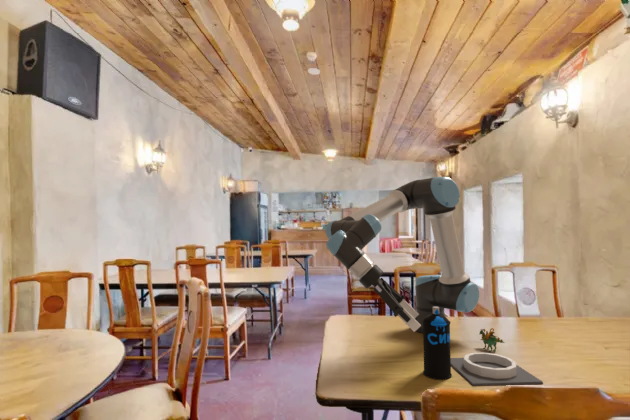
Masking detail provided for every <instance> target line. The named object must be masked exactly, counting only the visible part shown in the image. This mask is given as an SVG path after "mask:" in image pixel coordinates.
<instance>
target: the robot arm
mask: <svg viewBox="0 0 630 420" xmlns="http://www.w3.org/2000/svg"><path fill="white" fill-rule="evenodd" d="M460 194H461V192H460V188H459V186H458V185H457V183H456V181H454V180H453V179H452V178H450V177H448V176H434V177H430V178H424V179H416V180H413V181H409V182H408V183H405V184H404V185H401V186H399V187H398V188H396V189H394V190H392V191H390V192H389V194H388V195H387V196H385V197H383V198H381V199H379V200H377V201H375V202H374V203H371V204H369V205H367V206H365V207H363V208H362V209H359V210H357V211H356V212H354V213H352V214H349V215H347V216H346V217H343V218H341V219H339V220H337V219H336V220H331V221H329V222H328V223H327V224H326V226H325V236H326V237H327V239H328V240H327V241H326V243H325V246H326V248H327V249H328V251H329V252H330V254H332V256H333V257H335V259H337V261H339V262H340V263H341V264H342V265H343V266H344V267H345V268H346V269H347V270H348V271H349V275H350V276H352V275H353V276H354V277H355V279H357V280H359V282H358V283H360V284H361V285H362V286H363V288H365V289H369V288H371V287H372V286H373V287H374V288H373V291H374V292H375V293H376V294H377V295H378V296H379V298H380V299H381V300H383V302H384V303H385V304H386V306H387V307H388V308H389V310H390V311H392V313H393V317H395V318H397V317H399V318H400V319H401V320H402V321H403V323H404V324H405V325H407V327H408V328H409V329H411V330H412V331H413V333H415V332H417V333H421V334H423V322H422V320H423V319H424V318H425V317H426V316H427V315H430V314H432V313H433V307H439V314H440V315H443V316H445V317H446V318H447V315H446V311H445V309H447V310H451V311H456V312H458V313H460V312H461V313H470V312H472V311H473V310H474V309H476V307H477V305H478V303H479V300H480V288H479V287H478V285H477V284H476V283H474V282H471V278H470V275H469V273H467V272H465V267H464V263H463V259H462V258H463V257H462V254H461V249H460V244H459V239H458V235H457V230H456V229H457V227H456V224H455V219H454V212H455V211H456V210H457V208H456V206H457V205H458V204H459V202H460V196H461V195H460ZM414 209H416V210H417V209H423V212H424V215H425V216H426V217H427V218H428V219H429V221H430V226H431V230H432V234H433V235H432V236H433V239H434V244H435V250H436V253H437V254H436V255H437V258H438V262H439V269H440V274H429V275H428V274H427V275H419V276H417V277H416V279H415V309H414V308H413V307H412V306H411V305H410V304H409V303H408V302H407V301H406V299H405V298H406V297H405V296H404V294H401V293H399V291H397V290H396V289H395V288H394V287H392V286H391V285H390V284H389V283H388V282H387V281H386V280H385V279H384V278H383V277H382V276H383V275H384V270H382V269H381V268H380V267H379V265H377V264H374V260H372V258H370V257H369V255H368V254H367V253H365V252H364V251H363V250H364V248H365V247H366V246H367V245H368V244H369V243H370V242H372V241H373V240H374V239H375V238H377V236H378V234H379V233H380V232H381V230H382V223H381V222H382V221H384V220H386V219H387V218H388V219H389V218H390V217H392V216H394V215H395V214H398V213H405V212H406V211H409V210H414Z"/></svg>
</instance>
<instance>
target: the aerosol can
mask: <svg viewBox="0 0 630 420" xmlns="http://www.w3.org/2000/svg"><path fill="white" fill-rule="evenodd" d="M422 322H423V333H422V336H423V337H422V339H423V342H422V345H423V371H422V373H423V375H424V376H425V377H428V378H429V379H433V380H439V381H440V380H441V381H443V380H449V379H451V378H452V377H453V374H452V369H451V368H452V366H451V358H452V357H451V323H452V322H451V321H450V320H449V319H448V318H447V316H446V317H445V316H443V315H440V314H439V307H433V313H432V314H430V315H427V316H426V317H425V318H424V319H423V320H422Z"/></svg>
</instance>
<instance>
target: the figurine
mask: <svg viewBox="0 0 630 420" xmlns="http://www.w3.org/2000/svg"><path fill="white" fill-rule="evenodd" d="M494 334H495V329H494V328H493V327H492V328H490V329H489V331H487V330H486V329H485V328H481V329H480V330H479V334H478V335H481V339H480V338H479V340H480V341H482V342H483V343H484V347H483V349H490V350H488V352H496V350H497V343H500V344H505V341H503V339H500V337H498V336H497V335H494ZM493 348H494V349H493Z"/></svg>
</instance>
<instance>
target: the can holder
mask: <svg viewBox="0 0 630 420" xmlns="http://www.w3.org/2000/svg"><path fill="white" fill-rule="evenodd" d="M450 358H451V368H453V369H454V370H455V371H456V372H458V374H459V375H461V376H462V377H463V378H464V379H465V380H466V381H467V382H468V383H469V384H471V385H472V386H474V387H477V386H478V387H479V386H509V384H518V385H543V384H544V382H543V381H542V380H541V379H539V378H538V377H536V376H535V375H533V374H532V373H530V372H528V371H527V370H525V369H523V368H522V367H521V366H519V365H518V364H517V361H514V359H512V358H510V357H507V356H504V355H501V354H499V353H498V354H497V353H493V352H490V353H489V352H471V353H467V354H465V355H464V357H450Z"/></svg>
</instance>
